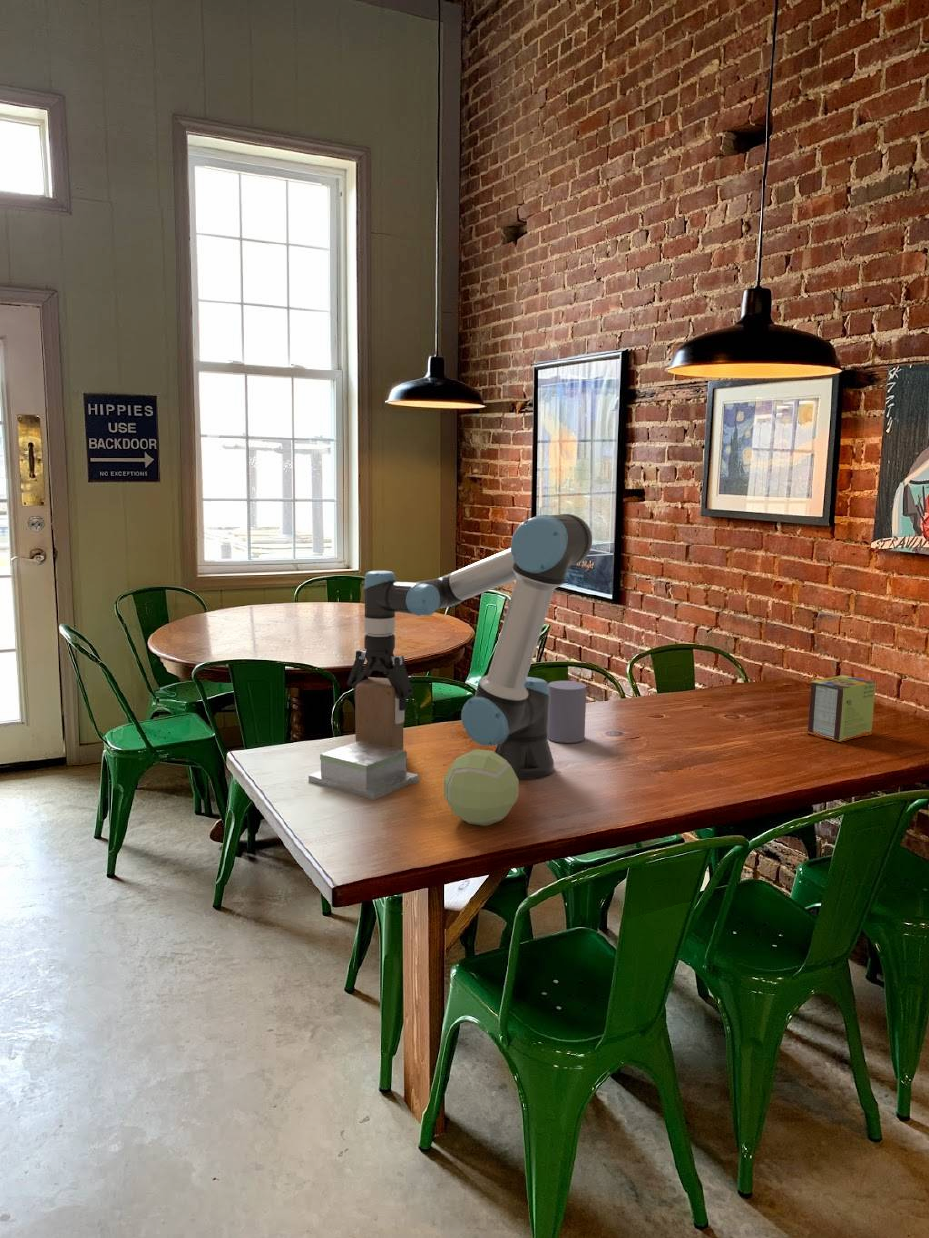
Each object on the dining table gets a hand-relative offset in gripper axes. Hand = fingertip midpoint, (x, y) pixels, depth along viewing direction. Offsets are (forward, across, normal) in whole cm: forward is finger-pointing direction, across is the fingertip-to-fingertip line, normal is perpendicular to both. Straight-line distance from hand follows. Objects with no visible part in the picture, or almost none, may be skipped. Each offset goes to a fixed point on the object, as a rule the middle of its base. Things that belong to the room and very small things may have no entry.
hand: (379, 718), depth 233 cm
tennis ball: (+11, -44, +19) cm, 49 cm away
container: (+11, -28, -45) cm, 54 cm away
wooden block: (+11, 0, 0) cm, 11 cm away
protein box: (+11, -87, -96) cm, 130 cm away
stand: (+11, -8, +15) cm, 20 cm away
